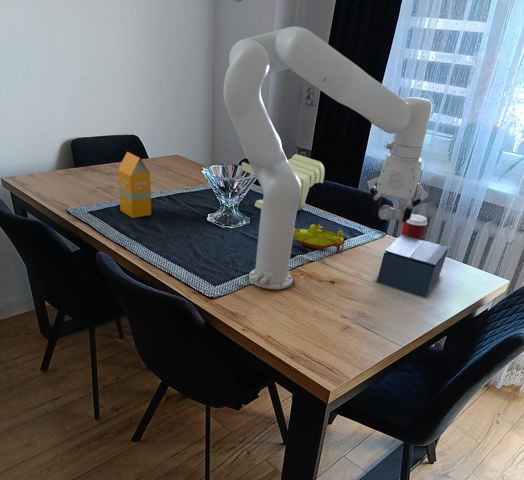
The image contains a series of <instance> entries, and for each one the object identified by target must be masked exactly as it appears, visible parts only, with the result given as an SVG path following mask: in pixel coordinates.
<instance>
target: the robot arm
mask: <svg viewBox="0 0 524 480" xmlns="http://www.w3.org/2000/svg"><path fill="white" fill-rule="evenodd" d="M228 56H229V57H228V63H229V66H228V68H227V69H226V73H225V76H224V80H223V81H224V82H223V90H222V92H223V101H224V106H225V108H226V111H227V114H228V116H229V118H230V120H231V123H232V125H233V127H234V129H235V132H236V135H237V136H238V138H239V140H240V145H241V149H242V151H243V153H244V155H245V157H246V159H247V161H248V164H250V165H251V167H252V169H253V171H254V173H255V175H256V177H257V178H256V177H255V178H256V179H257V181H258V183H259V185H260V187H261V190H262V192H263V197H262V200H263V204H262V209H260V214H259V216H260V217H259V225H258V226H259V227H258V236H257V247H256V257H255V265H254V266H255V268H254V269H252V270H251V271H249V275H248V281H247V282H249V284H251V285H254V286H256V287H259V288H261V289H266V290H283V289H287V288H289V287H290V286H292V284H293V276H292V275H291V273H289V270H290V261H291V255H292V247H293V241H294V239H293V234H294V228H295V227H296V226H295V225H296V219H297V214H298V211H299V210H298V206H299V202H300V198H301V183H300V180H299V178H298V176H297V174H296V173H295V172H294V170H293V169H292V168H291V166H290V164H289V162H288V160H289V159H288V158H287V156H286V154H285V151H284V149H283V144H282V140H281V138H280V135H279V133H278V132H277V130H276V129H275V127H274V124H273V122H272V121H271V118H270V116H269V114H268V111H267V108H266V106H265V103H264V101H263V98H262V92H261V91H262V86H263V83H264V80H265V79H266V77H267V76H268V75H272V74H274V73H278V72H282V71H285V70H288V69H289V70H291V71H292V72H294V73H295V74H296V75H298V76H300V77H301V78H302V79H304V80H305V81H307V82H308V83H309V84H311V85H312V86H314V87H316V89H318V90H320V91H321V92H323V93H324V94H325V95H327V97H330V98H331V99H333V100H334V101H336V102H337V103H339V104H341V105H344V106H346V107H348V108H350V109H351V110H353V111H355V112H356V113H358V114H360V115H361V116H362V117H363V118H365V119H366V120H368V121H369V122H370V124H372V125H374V126H375V127H377V128H378V129H380V130H382V131H383V132H385V133H386V134H392V135H393V134H394V136H393V141H392V142H388V143H386V149H388V150H389V153H387V154H386V156H385V159H384V161H383V163H382V166H381V170H380V173H379V176H377V177H375V178H373V179H370V180H369V181H367V183H366V184H367V186H368V190H369V192H370V194H371V196H372V198H373V200H374V201H373V205H372V211H373V213H372V215H373V216H376V215H378V210H379V208H380V207H381V206H382V201H383V200H382V197H383V196H387V197H391V198H396V199H401V200H405V201H406V203H407V204H406V205H407V206H406V208H404V210H405V213H404V217H403V222H402V223H403V224H404V223H405V222H406V221H407V220H409V219H410V217H411V214H413V209H414V208H415V207H417V206H418V205H420V204H421V203H422V202H423V201H425V200H426V199H427V198H428V197H429V194H428V193H427V191H426V190H425V189H424V188H423V187H422V185H421V184H420V181H421V180H420V179H421V174H422V173H421V172H422V164H423V163H422V162H423V160H422V158H421V155H422V150H423V147H424V143H425V139H426V136H427V131H428V126H429V123H430V119H431V115H432V111H433V102H432V101H431V100H430V99H426V98H423V97H415V96H411V97H409V96H408V97H402V96H399V95H397V94H396V93H395V92H393V91H392V90H390V89H389V88H388V87H387V86H385V85H383V84H382V83H381V82H380V81H378V80H376V79H375V78H374V77H372V76H371V75H369V74H368V73H367V72H366V71H365V70H363V68H361V67H359V66H358V65H357V64H356V63H354V62H353V61H352V60H350V59H349V58H348V57H346V56H345V55H343V54H342V53H340V52H339V51H338V50H337V49H335V48H334V47H332V46H331V45H330V44H329V43H327V42H325V41H324V39H322V38H321V37H319V36H318V35H316V34H315V33H313V32H312V31H311V30H309V29H308V28H305V27H300V26H294V25H293V26H288V27H285V28H281V29H277V30H274V31H271V32H265V33H263V34H258V35H254V36H251V37H246V38H243V39H240V40H238V41H237V42H236V43H235V44H233V46H232V48H231V49H230V52H229V55H228ZM376 184H377V185H376ZM375 185H376V186H375ZM417 193H418V195H420V196H419V197H418V198H417V199H415V198H414V197H415V196H416V195H417ZM297 210H298V211H297Z"/></svg>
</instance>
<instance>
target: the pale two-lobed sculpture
mask: <svg viewBox="0 0 524 480" xmlns="http://www.w3.org/2000/svg"><path fill="white" fill-rule="evenodd" d="M404 213H405V208H404V207H402V208H400V209H397V208H394V207H392V206H391V205H390V204H383V205H381V206H380V208H379V210H378V214H377V216H378V218H379V219H380V220H382V221H383V220H385V221H393V220H396V221H398V223H400V224H402V223H404V222H403V217H404Z"/></svg>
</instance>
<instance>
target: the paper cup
mask: <svg viewBox="0 0 524 480" xmlns="http://www.w3.org/2000/svg"><path fill="white" fill-rule="evenodd" d="M427 225H428V218H427V217H425V216H424V215H422V214H418V213H417V214H416V213H412V214H411V217H410V219H409V220H407V221H406V222H405V223H404V222H403V224H402V229H401V233H400V235H401V234H402V235H406V236H409V237H412V238H416V239H419V240H422V238H423V235H424V232H425V228H426V226H427Z"/></svg>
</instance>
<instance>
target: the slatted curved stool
mask: <svg viewBox="0 0 524 480" xmlns="http://www.w3.org/2000/svg"><path fill="white" fill-rule="evenodd" d="M287 160H288V162H289V164H290V166H291V168H292V169H293V170H294V172H295V173H296V174H297V176H298V178H299V180H300V183H301V198H300V202H299V206H298V210H297V212H299V211H301V210H302V211H303V210H304V208H305V206H306V200H307V196H308V193H309V191H310V188H312V187H313V186H314V185H315V184H324V180H325V173H326V172H325V166H324V163H322V162H321V161H320V160H317V159H313V158H310V157H307V156H304V155H301V154H297V153H295V154H293V155H292V156H291V158H289V159H287ZM241 171H244V172H246V173H247V174H250V175H252V174H255V173H254V171H253V169H252V167H251V165H250V163H247V162H245V161H242V162H241ZM262 204H263V199H257V200H255V203H254V207H256V208H258V209H260V210H261V209H262Z"/></svg>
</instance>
